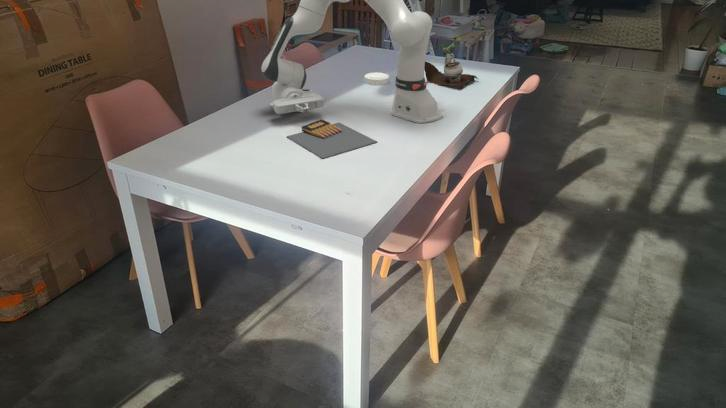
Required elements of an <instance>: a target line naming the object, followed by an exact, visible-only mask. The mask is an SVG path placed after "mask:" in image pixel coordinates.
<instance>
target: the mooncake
mask: <svg viewBox="0 0 726 408" xmlns="http://www.w3.org/2000/svg"><path fill="white" fill-rule="evenodd" d="M389 81H390V77H389V75H388V74H387V73H384V72H378V71H377V72H368V73H366V74H365V75H364V81H363V82H364V84H366V85H371V86H385V85H387V84H388V83H389Z"/></svg>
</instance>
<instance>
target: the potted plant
mask: <svg viewBox="0 0 726 408" xmlns="http://www.w3.org/2000/svg"><path fill="white" fill-rule="evenodd" d="M452 39H453V40H452V43H451V44H450V45H448V46H447V45H446V44H445V42H442V43H440V45H439V48H441V49H442V50H443V51H444V52H443V53H442V55H445V58H444V66H443V72H442V71H439V69H438V68H437V66H435V65H434V64H433V63H430V62H429V61H426V60H425V68H424V75H425V79H426V81H427V82H428V84H434V85H438V86H453V87H456V88H458V89H459V90H461V89H465V86H466V85H467V84H468V82H473V83H474V82H475V79H476V80H479V78H478V77H477V76H476V75H474V74H469V73H467V74H466V73H463V72H464V69H463V66H462V63H461V62H460V61H456V58H455V55H454V53H451V50H453V49H454V48H456V45H455V44H456V42H459V41H461V39H462V36H461V35H460V34H458V35H457V36H456V35H455V36H453V37H452ZM452 60H453V62H452Z"/></svg>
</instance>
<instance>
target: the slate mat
mask: <svg viewBox="0 0 726 408" xmlns="http://www.w3.org/2000/svg"><path fill="white" fill-rule="evenodd" d="M331 124H332V125H334V126H336V127H338V128H340V129H341V130H342V131H339V133H336V132H335V133H336V134H332V135H329V137H326V136H325V137H326V138H322V137H319V136H315V135H313V134H312V135H311V134H308V133H306V132H303V131H301V132H297V133H294V134H290V135H286V138H287V139H289V140H290V141H292V142H294V143H296V144H297V145H299V146H300V147H302V148H303V149H305V150H306V151H309V152H310V153H312V154H314V155H315V156H317V157H318V158H320V159H322V160H325V159H329V158H332V157H335V156H338V155H342V154H344V153H347V152H348V153H349V152H351V151H353V150H358V149H360V148H364V147H367V146H370V145H371V146H372V145H375V144H377V143H378V141H377V140H376V139H373V138H371V137H369V136H367V135H365V134H363V133H361V132H360V131H357V130H355V129H353V128H351V127H349V126H347V125H345V124H343V123H341V122H339V121H338V122H335V123H331Z"/></svg>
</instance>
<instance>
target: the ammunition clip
mask: <svg viewBox="0 0 726 408" xmlns="http://www.w3.org/2000/svg"><path fill="white" fill-rule="evenodd" d="M332 124H333V123H331V122H329V121H326V120H325V119H322V118H320V119H318V120H316V121H313V122H310V123H308V124H305V125H302V126H301V132H306V133H308V134H311V135H312V134H313V135H315V136H319V137H322V138H326V137H329V135H332V134H336V133H339V131H342V130H341V129H340V128H338V127H336V126H334V125H332ZM335 132H336V133H335ZM325 136H326V137H325Z"/></svg>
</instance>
